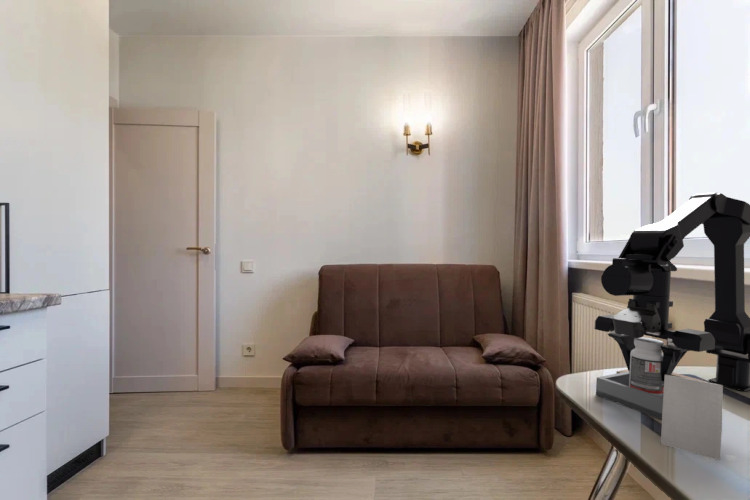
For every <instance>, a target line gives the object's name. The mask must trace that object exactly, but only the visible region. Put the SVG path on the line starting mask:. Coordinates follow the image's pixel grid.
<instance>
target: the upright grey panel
mask: <svg viewBox="0 0 750 500" xmlns="http://www.w3.org/2000/svg"><path fill="white" fill-rule="evenodd" d="M703 381H704V380H702V381H698V380H692V379H687V378H682V377H676V376H671V375H665V378H664V394H663V411H662V420H661V431H660V432H661V433H660V435H661V436H660V445H664V446H668V447H671V448H675V449H679V450H682V451H686V452H689V453H693V454H696V455H697V454H698V455H700V456H703V457H707V458H710V459H711V458H712V459H716V460H721V447H722V432H723V431H722V430H723V399H724V398H723V397H724V396H723V394H724V392H723V391H724V386H723V385H719V384H715V383H711V382H709V381H706V382H703ZM708 382H709V383H708Z"/></svg>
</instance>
